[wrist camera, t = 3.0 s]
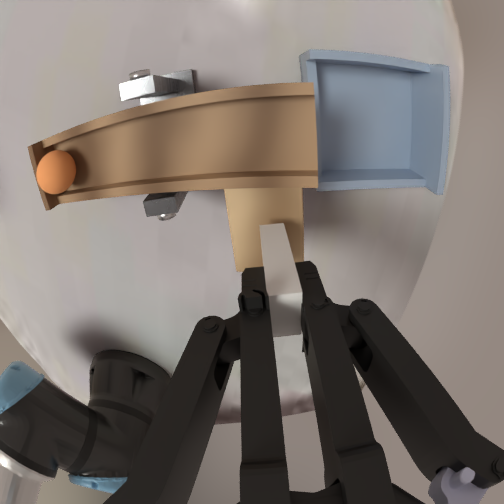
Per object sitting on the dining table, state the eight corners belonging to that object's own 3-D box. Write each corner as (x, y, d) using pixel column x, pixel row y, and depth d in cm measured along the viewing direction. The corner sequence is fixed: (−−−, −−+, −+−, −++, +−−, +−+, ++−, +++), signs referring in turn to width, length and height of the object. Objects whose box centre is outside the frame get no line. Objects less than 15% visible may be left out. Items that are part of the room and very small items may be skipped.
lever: (91, 257, 26) (73, 275, 23) (53, 136, 19) (27, 147, 16) (317, 268, 21) (315, 296, 18) (313, 83, 14) (313, 81, 11)
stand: (160, 190, 27) (133, 227, 20) (139, 81, 21) (100, 80, 14) (208, 183, 27) (197, 218, 20) (192, 69, 21) (171, 60, 14)
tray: (307, 177, 27) (323, 200, 22) (299, 55, 20) (315, 45, 15) (411, 174, 26) (442, 194, 21) (413, 66, 20) (448, 66, 15)
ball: (60, 187, 21) (36, 204, 18) (50, 150, 19) (23, 163, 16) (88, 180, 20) (63, 197, 17) (78, 140, 18) (51, 152, 15)
